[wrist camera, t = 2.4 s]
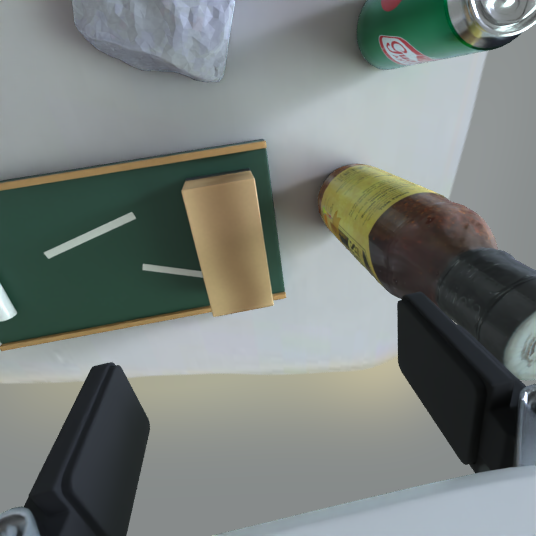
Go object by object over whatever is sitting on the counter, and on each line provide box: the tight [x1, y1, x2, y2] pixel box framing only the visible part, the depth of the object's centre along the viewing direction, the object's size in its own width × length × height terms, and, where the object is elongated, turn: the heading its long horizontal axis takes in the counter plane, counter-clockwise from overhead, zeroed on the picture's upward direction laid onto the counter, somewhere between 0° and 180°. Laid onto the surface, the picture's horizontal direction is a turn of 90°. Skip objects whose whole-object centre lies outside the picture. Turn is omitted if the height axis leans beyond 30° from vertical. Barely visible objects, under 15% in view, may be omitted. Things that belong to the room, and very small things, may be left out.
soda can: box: [357, 0, 536, 70], centre depth 19 cm, size 5×5×12 cm
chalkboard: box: [0, 139, 286, 351], centre depth 28 cm, size 26×14×2 cm, turn 98°
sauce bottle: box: [318, 164, 536, 380], centre depth 21 cm, size 6×6×20 cm
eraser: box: [181, 168, 274, 317], centre depth 27 cm, size 5×10×4 cm, turn 8°
